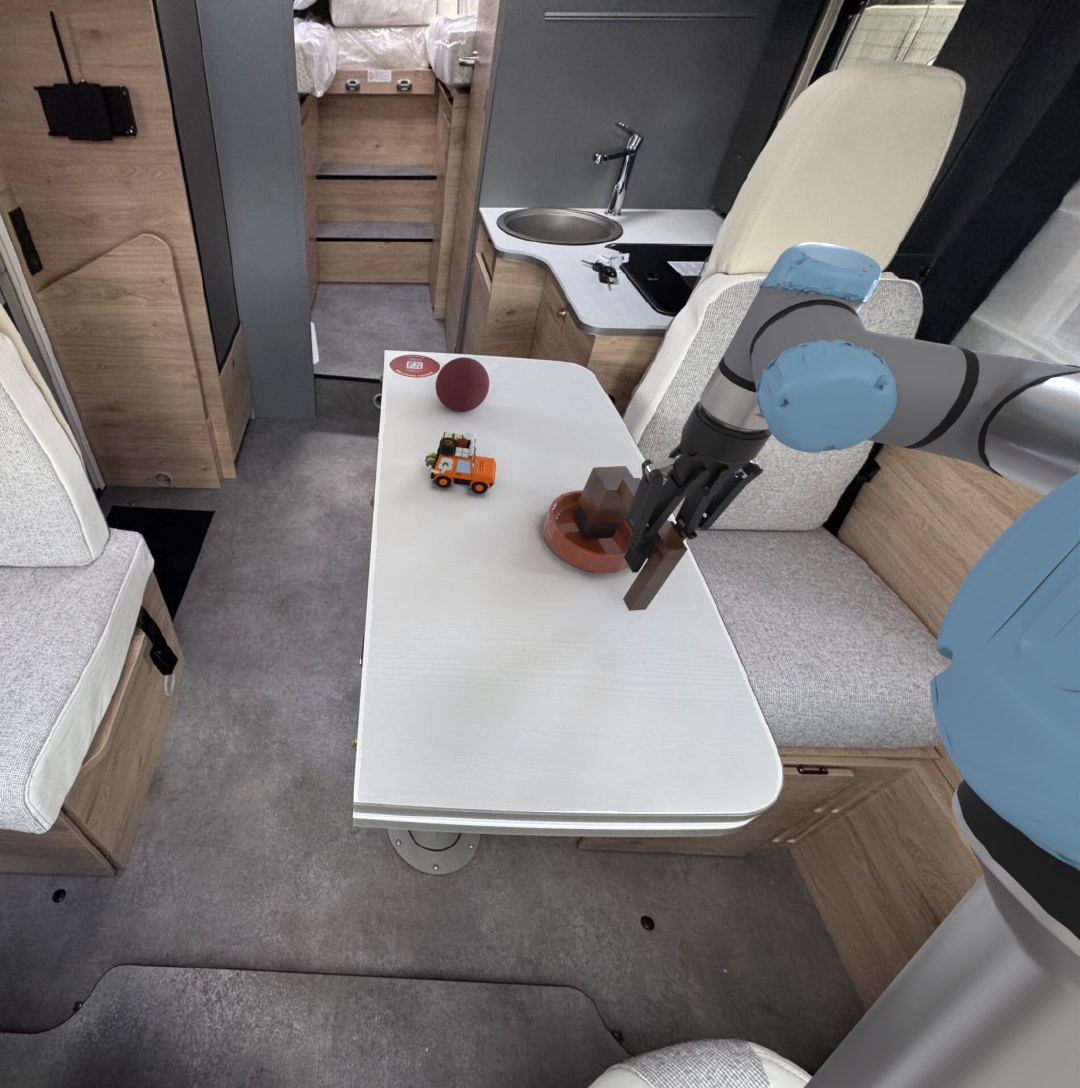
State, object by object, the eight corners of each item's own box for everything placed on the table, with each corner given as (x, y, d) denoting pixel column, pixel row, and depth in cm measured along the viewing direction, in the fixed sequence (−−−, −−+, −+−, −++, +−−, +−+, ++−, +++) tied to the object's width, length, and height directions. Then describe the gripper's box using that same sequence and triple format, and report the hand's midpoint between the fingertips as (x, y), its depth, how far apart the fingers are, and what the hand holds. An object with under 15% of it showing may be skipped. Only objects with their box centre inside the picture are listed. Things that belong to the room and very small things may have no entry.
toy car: (424, 461, 100) (431, 419, 94) (493, 471, 99) (505, 429, 93) (420, 487, 95) (427, 444, 89) (493, 498, 94) (505, 455, 88)
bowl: (652, 572, 85) (664, 554, 82) (561, 578, 83) (569, 560, 80) (612, 506, 94) (622, 488, 91) (529, 510, 93) (536, 492, 90)
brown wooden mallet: (654, 609, 77) (698, 548, 68) (619, 611, 77) (659, 550, 68) (601, 515, 89) (632, 453, 80) (570, 517, 89) (598, 455, 80)
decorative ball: (472, 428, 107) (483, 381, 100) (423, 412, 110) (430, 364, 103) (490, 403, 113) (502, 357, 106) (444, 388, 116) (452, 342, 109)
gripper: (683, 438, 55) (597, 590, 72) (830, 432, 56) (711, 582, 74) (647, 394, 60) (575, 546, 77) (783, 390, 61) (682, 539, 79)
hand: (642, 563), depth 75 cm, fingers closed on brown wooden mallet, 2 cm apart
